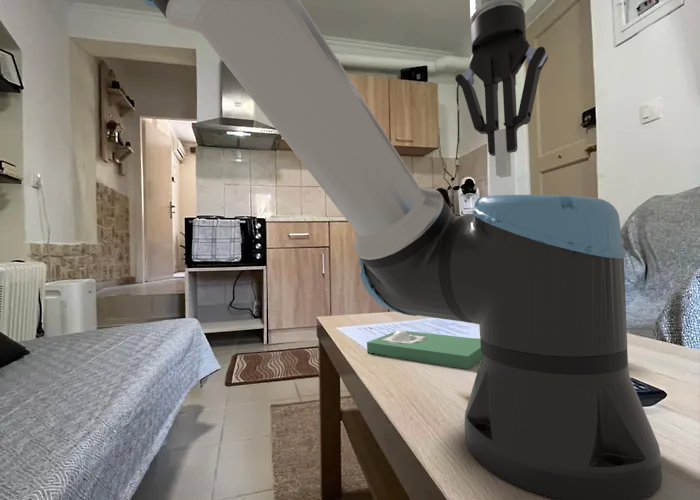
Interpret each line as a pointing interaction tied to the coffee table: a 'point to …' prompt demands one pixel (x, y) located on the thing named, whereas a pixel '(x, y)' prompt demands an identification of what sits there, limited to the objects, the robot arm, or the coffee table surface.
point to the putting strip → (430, 349)
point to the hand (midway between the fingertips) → (503, 175)
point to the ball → (401, 336)
